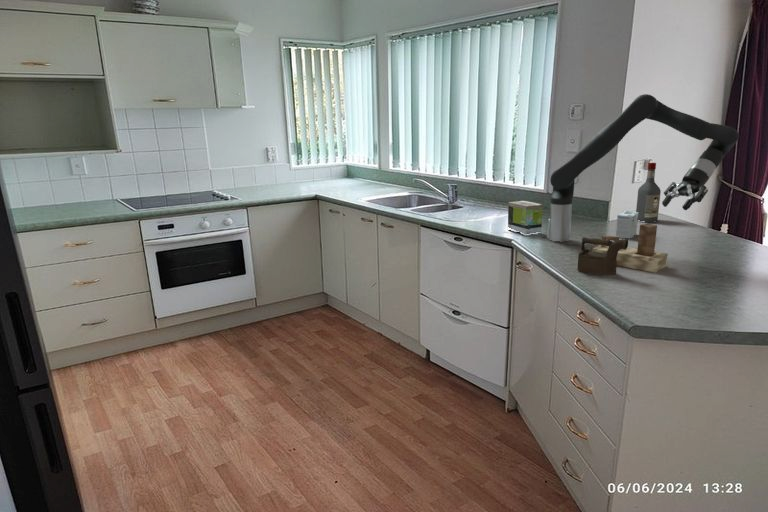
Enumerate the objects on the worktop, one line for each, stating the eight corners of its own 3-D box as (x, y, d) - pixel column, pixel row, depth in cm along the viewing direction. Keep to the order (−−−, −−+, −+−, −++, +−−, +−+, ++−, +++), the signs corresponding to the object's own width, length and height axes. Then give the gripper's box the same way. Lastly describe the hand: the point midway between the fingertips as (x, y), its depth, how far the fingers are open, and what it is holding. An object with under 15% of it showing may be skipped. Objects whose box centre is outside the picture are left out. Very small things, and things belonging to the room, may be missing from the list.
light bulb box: (621, 232, 238) (623, 210, 235) (636, 234, 234) (639, 212, 231) (615, 237, 230) (617, 214, 227) (630, 239, 226) (633, 216, 223)
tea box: (542, 233, 243) (543, 204, 239) (525, 236, 239) (526, 206, 235) (523, 228, 256) (524, 199, 252) (506, 230, 253) (507, 201, 249)
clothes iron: (620, 278, 176) (623, 242, 173) (575, 270, 187) (577, 236, 183) (627, 272, 182) (630, 237, 178) (583, 265, 192) (585, 231, 189)
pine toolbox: (591, 260, 198) (593, 236, 195) (603, 255, 204) (604, 232, 201) (656, 272, 180) (658, 246, 178) (666, 266, 187) (669, 241, 184)
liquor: (632, 220, 262) (637, 163, 254) (645, 218, 265) (651, 161, 257) (646, 223, 254) (652, 164, 245) (660, 221, 257) (666, 162, 248)
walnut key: (635, 265, 189) (639, 224, 185) (643, 264, 190) (647, 223, 186) (644, 268, 185) (649, 226, 181) (652, 267, 187) (657, 225, 182)
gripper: (678, 165, 192) (653, 198, 191) (713, 168, 179) (686, 203, 178) (686, 178, 195) (661, 210, 194) (721, 182, 182) (695, 216, 181)
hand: (673, 207), depth 186 cm, fingers open, 8 cm apart
